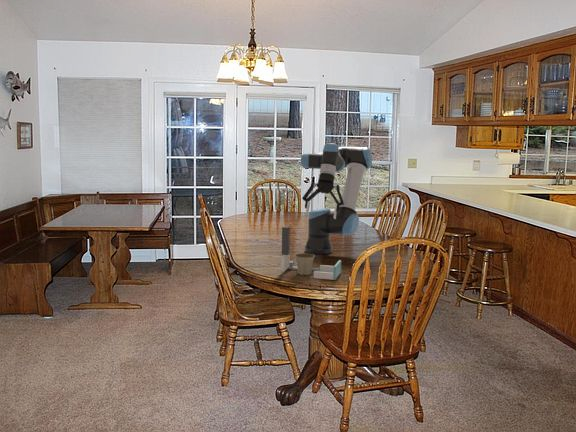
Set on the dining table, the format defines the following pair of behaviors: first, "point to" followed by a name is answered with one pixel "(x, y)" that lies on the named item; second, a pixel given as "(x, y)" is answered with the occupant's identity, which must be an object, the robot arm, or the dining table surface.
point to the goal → (328, 271)
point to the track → (297, 269)
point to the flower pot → (304, 263)
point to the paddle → (286, 249)
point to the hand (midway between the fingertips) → (320, 216)
